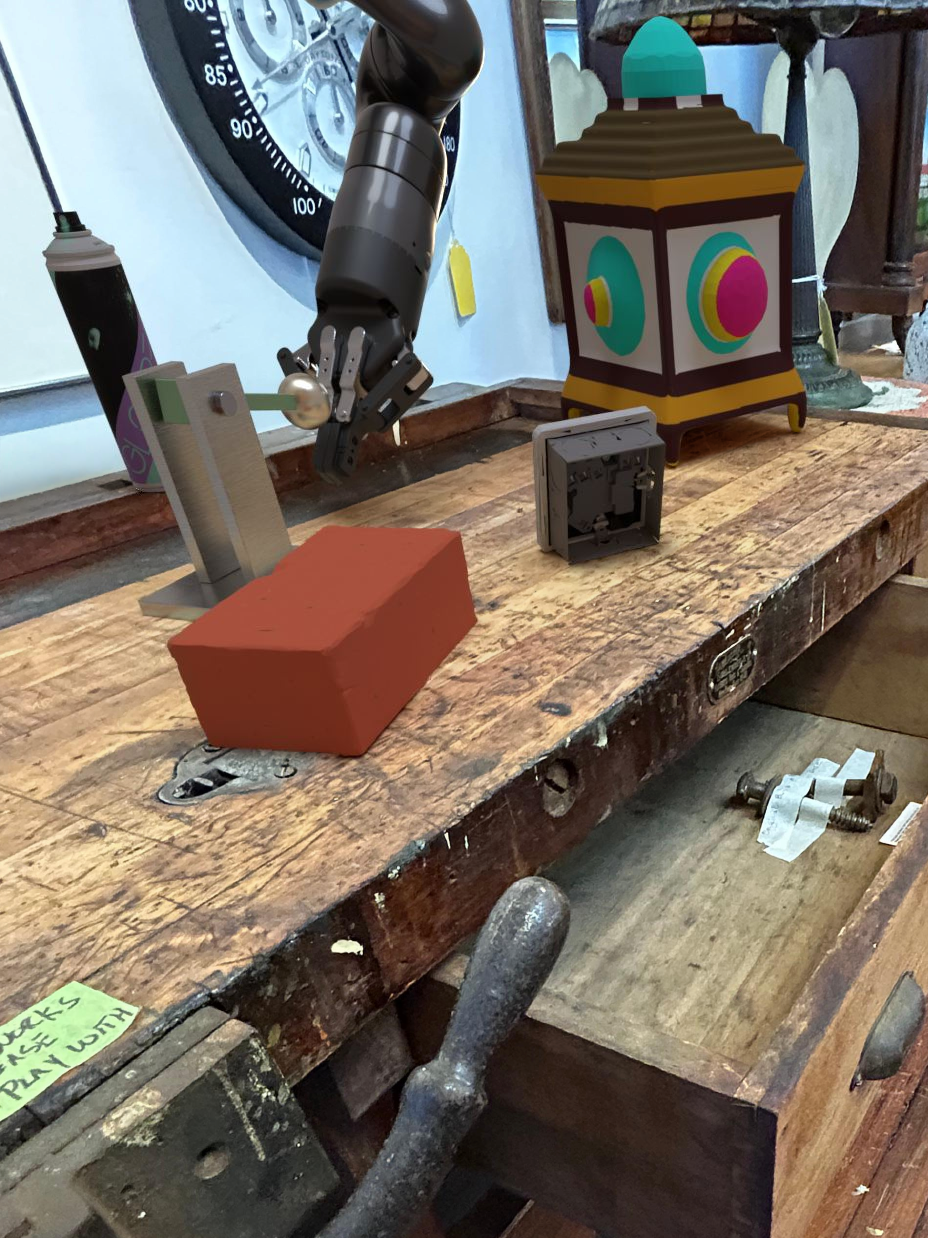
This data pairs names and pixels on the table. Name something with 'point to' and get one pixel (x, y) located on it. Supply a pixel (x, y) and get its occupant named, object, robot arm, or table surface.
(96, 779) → the table surface
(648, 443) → the electrical switch
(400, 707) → the brick
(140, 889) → the table surface
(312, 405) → the switch lever
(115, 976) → the table surface
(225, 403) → the switch bracket
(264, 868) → the table surface
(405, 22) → the robot arm
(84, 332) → the spray can
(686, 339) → the decorative lantern
